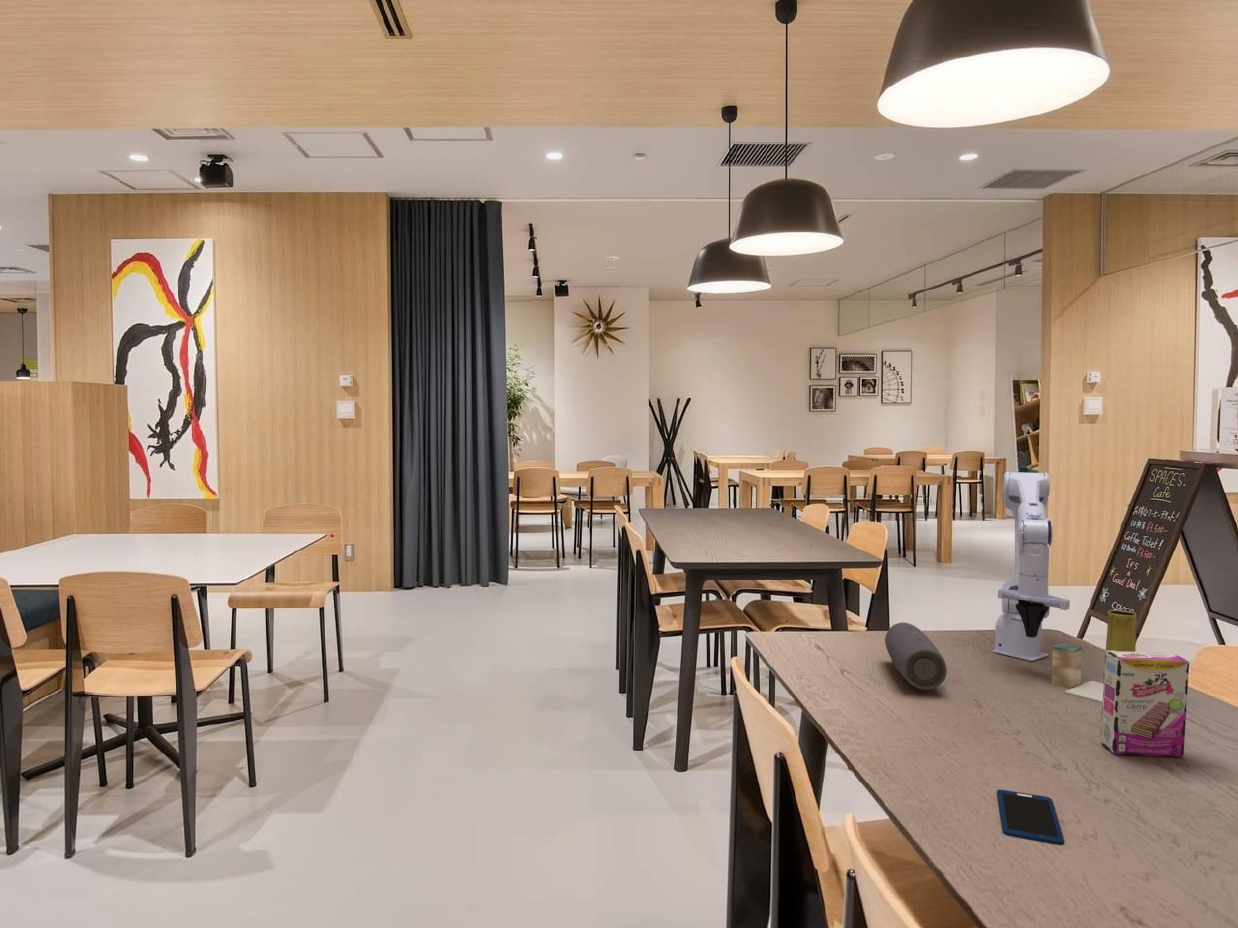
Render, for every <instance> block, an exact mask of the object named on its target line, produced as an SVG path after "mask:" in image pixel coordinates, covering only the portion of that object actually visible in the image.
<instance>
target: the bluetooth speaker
mask: <svg viewBox="0 0 1238 928" xmlns="http://www.w3.org/2000/svg"><path fill="white" fill-rule="evenodd" d="M884 642H885V646H886V650H887V653H888V655H889V657H890V659H891V662H892V663H893V665H894V666H895V668H896V669H897V671H898V672H899V673H900V674H901V676H902V677H903V678H904V679H905V680H906V681H907V683H908V684H910V685H911V686H913V687H915V688H916V689H918V690H924V691H925V690H927V691H928V690H933V689H936V688H938V687H940V686H941V685H942V684H943V683H944V681H945V680H946V677H947V674H948V672H947V671H948V670H947V665H946V661H945V659H944V657H943V655H942V654H941V652H940V651H939V648H937V647H936V645H935V644H934V643H933V642H932V640H931V639H930V638H929V637H928V636H927V635H926V634H925V633H924V632H923V630H921V629H919V628H918V627H917V626H915V625H914V624H911V623H909V622H899V623H895V624H893V625H891V626H890V627H889V628H888V630H887V632H886V633H885V638H884Z"/></svg>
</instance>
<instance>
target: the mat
mask: <svg viewBox="0 0 1238 928" xmlns="http://www.w3.org/2000/svg"><path fill="white" fill-rule="evenodd" d="M1103 686H1104V682H1099V681H1097V680H1096V681H1095V680H1090V681H1087V682H1085V683H1082V684H1080V685H1079V686H1077V687H1075V688H1072V689H1071V688H1069V689H1067V690H1065V691H1064V693H1065V694H1068V695H1071V696H1076V697H1079V698H1084V699H1087V700H1090V701H1093V702H1099V703H1102V704H1103Z"/></svg>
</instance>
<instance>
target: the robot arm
mask: <svg viewBox="0 0 1238 928" xmlns="http://www.w3.org/2000/svg"><path fill="white" fill-rule="evenodd" d="M1002 483H1003V485H1002V486H1003V487H1002V489H1003V491H1002V492H1003V504H1004V508H1006V509H1008V510H1009V511H1011V512H1012V515H1013V519H1014V576H1012V577H1010V578H1009V579H1007V580H1006V581H1004V583H1003V584H1002V588H1000V589H997V598H998V599H1001V612H1002V613H1003V614H1000V615H999V616H998V618H997V619H996V623H995V629H994V630H995V631H994V633H995V634H994V635H995V636H994V649H993V650H992V652H993V653H997V654H1001V655H1005V656H1009V657H1013V658H1017V659H1021V660H1025V661H1029V662H1034V661H1036V660H1040V659H1042V658H1046V657H1048V656H1049V653H1046V652H1043V651H1042V631H1043V630H1042V627H1043V626H1042V625H1043V624H1042V623H1043V622H1044V619H1047V617H1049V616H1050V608H1055V609H1060V610H1061V611H1062V610H1063V611H1066V610H1070V606H1071V605H1070V603H1071V601H1070V599H1066V598H1062V597H1058V596H1053V595H1050V594H1049V567H1050V566H1049V564H1050V562H1049V561H1050V547H1051V546H1052V543H1053V537H1054V536H1053V535H1054V533H1053V532H1054V531H1053V529H1054V528H1053V523H1052V519H1050V518H1048V515H1047V510H1046V506H1047V505H1048V500H1049V496H1050V491H1051V489H1050V488H1051V486H1050V485H1051V478H1050V475H1049V473H1048V472H1047V471H1046V472H1022V471H1021V472H1018V471H1017V472H1016V471H1013V472H1012V471H1008V470H1007V471H1006V472H1005V473H1004V474H1003V482H1002Z"/></svg>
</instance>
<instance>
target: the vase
mask: <svg viewBox="0 0 1238 928" xmlns="http://www.w3.org/2000/svg"><path fill="white" fill-rule="evenodd" d="M1106 628H1107V630H1106V638H1105V639H1106V641H1105V651H1132V652H1137V651H1136V644H1137V643H1136V641H1137V640H1136V639H1137V638H1136V636H1137V635H1136V634H1137V633H1136V632H1137V614H1136V612H1133V611H1127V610H1119V609H1112V610H1111V609H1110V610H1108V611H1107V627H1106ZM1103 665H1104V667H1105V664H1103ZM1102 675H1103V676H1104V671H1103V673H1102Z"/></svg>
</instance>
